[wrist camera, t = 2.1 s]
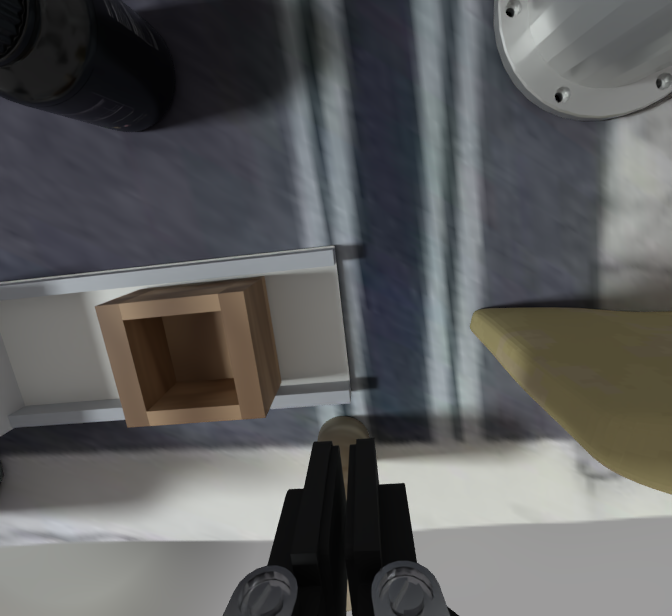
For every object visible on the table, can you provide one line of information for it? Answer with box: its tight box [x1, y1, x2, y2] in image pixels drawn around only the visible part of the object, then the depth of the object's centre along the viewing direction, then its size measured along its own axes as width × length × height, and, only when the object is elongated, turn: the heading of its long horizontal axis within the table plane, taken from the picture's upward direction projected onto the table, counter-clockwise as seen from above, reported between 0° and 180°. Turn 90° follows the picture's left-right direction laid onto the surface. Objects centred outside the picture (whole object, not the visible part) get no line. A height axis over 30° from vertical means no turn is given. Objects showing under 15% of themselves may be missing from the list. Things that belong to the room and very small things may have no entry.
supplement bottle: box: [0, 0, 175, 132], centre depth 19 cm, size 7×7×12 cm
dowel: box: [317, 416, 370, 612], centre depth 25 cm, size 4×4×12 cm
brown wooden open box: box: [95, 276, 282, 427], centre depth 26 cm, size 9×8×5 cm
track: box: [0, 245, 351, 437], centre depth 25 cm, size 28×11×9 cm, turn 96°
